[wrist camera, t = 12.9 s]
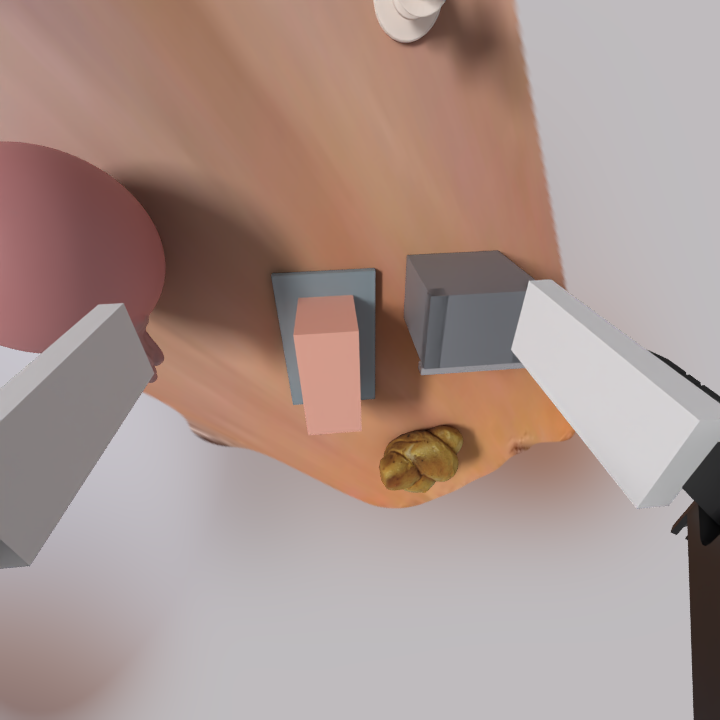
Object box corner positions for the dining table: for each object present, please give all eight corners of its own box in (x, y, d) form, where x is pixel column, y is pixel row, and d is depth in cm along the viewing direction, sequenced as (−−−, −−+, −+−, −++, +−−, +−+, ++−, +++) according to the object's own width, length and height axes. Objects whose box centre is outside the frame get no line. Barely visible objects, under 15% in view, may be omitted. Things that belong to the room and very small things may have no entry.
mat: (272, 273, 38) (271, 276, 38) (374, 268, 39) (375, 270, 38) (293, 400, 49) (293, 404, 48) (374, 394, 49) (374, 398, 49)
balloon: (124, 353, 42) (39, 456, 30) (-37, 176, 31) (-283, 220, 19) (241, 310, 40) (204, 400, 28) (114, 104, 29) (-45, 99, 17)
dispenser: (405, 255, 38) (428, 296, 30) (499, 250, 39) (549, 289, 30) (401, 323, 43) (421, 376, 34) (486, 318, 44) (526, 368, 35)
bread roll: (451, 409, 52) (469, 451, 46) (466, 449, 57) (485, 492, 51) (369, 438, 54) (376, 483, 48) (391, 474, 60) (400, 519, 53)
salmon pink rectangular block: (298, 297, 39) (293, 335, 33) (352, 294, 40) (358, 331, 33) (310, 389, 47) (308, 435, 40) (356, 386, 47) (361, 431, 40)
